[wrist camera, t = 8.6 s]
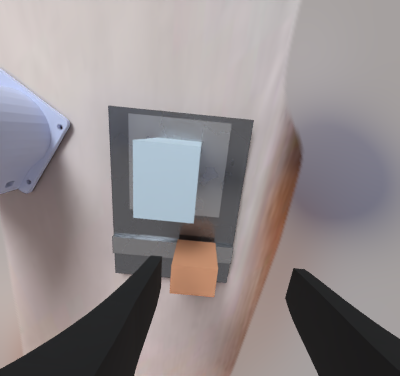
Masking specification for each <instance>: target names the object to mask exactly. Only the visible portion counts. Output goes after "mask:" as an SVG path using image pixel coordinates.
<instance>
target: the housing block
mask: <svg viewBox="0 0 400 376" xmlns="http://www.w3.org/2000/svg"><path fill="white" fill-rule="evenodd" d="M201 145H202V142H197V141H187V140H177V139H167V138H148V139H138V140H133V218H141V219H151V220H162V221H172V222H183V223H193V224H194V215H195V206H196V197H197V187H198V176H199V166H200V156H201Z"/></svg>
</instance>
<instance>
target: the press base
mask: <svg viewBox="0 0 400 376" xmlns="http://www.w3.org/2000/svg"><path fill="white" fill-rule="evenodd" d="M108 111H109V134H110V157H111V180H112V203H113V226H114V235H113V236H112V245H113V253H115V273H124V274H134V273H135V271H136V270H137V269H138V268H139V267H140V266H141V265H142V264H143V263H144V262H145V261H146V260H147V259H148V257H150V256H151V255H153V256H162V274H161V277H168V278H171V265H172V261H173V257H174V252H175V248H176V244H177V240H178V239H179V240H190V241H201V242H212V243H215V245H216V254H217V263H218V274H217V281H216V282H222V283H227V277H228V271H229V265H230V264H231V258H232V253H233V241H234V235H235V229H236V223H237V217H238V211H239V205H240V199H241V193H242V187H243V181H244V175H245V169H246V163H247V157H248V151H249V145H250V140H251V134H252V128H253V122H254V120H246V119H236V118H226V117H216V116H206V115H196V114H186V113H176V112H166V111H156V110H146V109H136V108H126V107H116V106H108ZM148 138H167V139H177V140H187V141H197V142H202V145H201V156H200V166H199V176H198V187H197V197H196V206H195V215H194V224H193V223H183V222H172V221H162V220H151V219H141V218H133V140H138V139H148Z"/></svg>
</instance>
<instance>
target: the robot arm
mask: <svg viewBox="0 0 400 376" xmlns="http://www.w3.org/2000/svg"><path fill="white" fill-rule="evenodd" d="M60 125H62V127H63V129H61V128H60ZM69 127H70V121H69V120H68V119H67V118H66V117H64V116H63V115H62V114H60V113H59V112H58V111H56V110H55V109H54V108H53V107H51V106H50V105H49V104H47V103H46V102H45V101H43V100H42V99H41V98H39V97H38V96H37V95H35V94H34V93H33V92H31V91H30V90H29V89H27V88H26V87H25V86H23V85H22V84H21V83H19V82H18V81H17V80H16V79H14V78H13V77H12V76H10V75H9V74H8V73H6V72H5V71H4V70H2V69H1V68H0V194H3V193H6V192H9V191H13V190H16V189H19V190H20V191H22V192H23V193H30V192H32V190H33V189H34V187H35V185H36V184H37V182H38V180H39V178H40V177H41V175H42V173H43V172H44V170H45V168H46V166H47V165H48V163H49V161H50V159H51V158H52V156H53V154H54V153H55V151H56V149H57V147H58V146H59V144H60V142H61V140H62V139H63V137H64V135H65V134H66V132H67V130H68V128H69ZM30 181H31V182H30ZM161 274H162V256H153V255H151V256H150V257H148V259H147V260H146V261H145V262H144V263H143V264H142V265H141V266H140V267H139V268H138V269H137V270H136V271H135V273H134V274H133V275H131V276H130V277H129V278H128V279H127V280H126V281H125V282H124V283H123V284H122V285H121V286H120V287H119V288H118V289H117V290H116V291H115V292H113V293H112V294H111V295H110V296H109V297H108V298H107V299H105V300H104V301H103V302H102V303H101V304H99V305H98V306H97V307H96V308H94V309H93V310H92V311H90V312H89V313H88V314H87V315H85V316H84V317H82V318H81V319H80V320H78V321H77V322H76V323H74V324H73V325H71V326H70V327H68V328H67V329H66V330H64V331H63V332H61V333H60V334H58V335H57V336H55V337H54V338H52V339H50V340H49V341H47V342H46V343H44V344H42V345H41V346H39V347H38V348H36V349H34V350H33V351H31V352H29V353H28V354H26V355H24V356H23V357H21V358H19V359H17V360H16V361H14V362H12V363H10V364H9V365H7V366H5V367H3V368H1V369H0V376H134V374H135V370H136V366H137V363H138V360H139V356H140V353H141V351H142V348H143V345H144V342H145V339H146V336H147V333H148V330H149V327H150V324H151V321H152V318H153V315H154V312H155V309H156V306H157V302H158V298H159V294H160V289H161ZM285 299H286V302H287V305H288V308H289V311H290V314H291V316H292V319H293V321H294V324H295V326H296V328H297V330H298V332H299V335H300V336H301V339H302V341H303V343H304V345H305V347H306V349H307V352H308V354H309V356H310V358H311V360H312V362H313V364H314V366H315V369H316V370H317V373H318V375H319V376H400V339H399V338H397V337H396V336H394V335H393V334H391V333H390V332H388V331H387V330H385V329H384V328H382V327H381V326H380V325H378V324H376V323H375V322H374V321H372V320H371V319H370V318H368V317H367V316H366V315H364V314H363V313H361V312H360V311H359V310H357V309H356V308H354V307H353V306H352V305H351V304H349V303H348V302H347V301H345V300H344V299H342V298H341V297H340V296H339V295H337V294H336V293H335V292H334V291H332V290H331V289H330V288H329V287H327V286H326V285H325V284H324V283H322V282H321V281H320V280H318V279H317V278H316V277H314V276H313V275H312V274H311V273H309V272H308V271H306V270H305V269H295V268H294V269H293V272H292V276H291V279H290V283H289V286H288V290H287V294H286V298H285Z"/></svg>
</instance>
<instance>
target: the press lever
mask: <svg viewBox="0 0 400 376" xmlns="http://www.w3.org/2000/svg"><path fill="white" fill-rule="evenodd" d="M217 274H218V263H217V254H216V245H215V243H212V242H201V241H190V240H179V239H178V240H177V244H176V248H175V252H174V257H173V261H172V265H171V280H170V293H173V294H185V295H196V296H207V297H214V294H215V288H216V281H217Z"/></svg>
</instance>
